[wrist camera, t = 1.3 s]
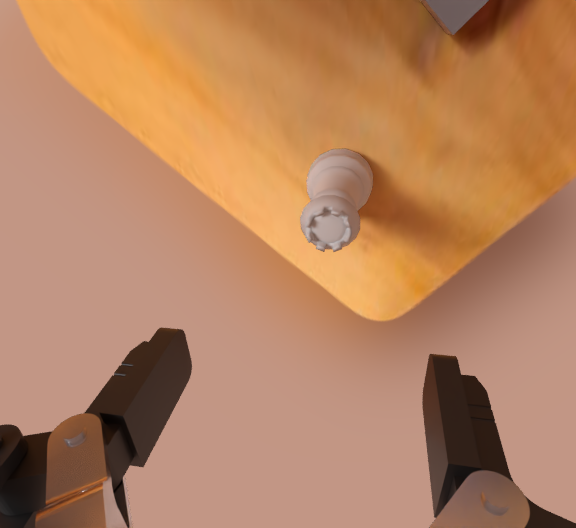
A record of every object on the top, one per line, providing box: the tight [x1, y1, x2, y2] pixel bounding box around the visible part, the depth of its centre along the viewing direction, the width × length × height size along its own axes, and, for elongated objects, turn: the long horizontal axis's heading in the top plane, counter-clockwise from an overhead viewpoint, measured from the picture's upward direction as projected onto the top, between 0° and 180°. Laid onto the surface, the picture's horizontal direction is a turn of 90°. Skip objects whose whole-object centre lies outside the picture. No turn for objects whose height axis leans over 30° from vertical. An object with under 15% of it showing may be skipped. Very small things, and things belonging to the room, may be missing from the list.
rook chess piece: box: [300, 149, 373, 252], centre depth 24 cm, size 4×4×8 cm
